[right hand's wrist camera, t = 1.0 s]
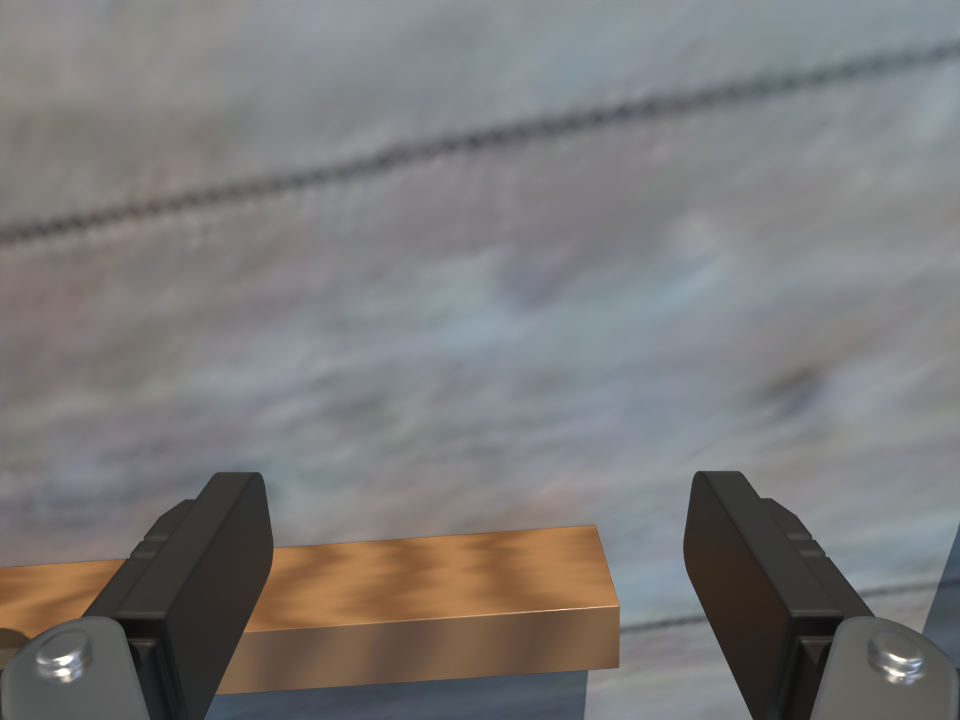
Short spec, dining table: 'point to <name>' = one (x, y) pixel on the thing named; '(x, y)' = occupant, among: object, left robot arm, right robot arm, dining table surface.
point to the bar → (384, 610)
